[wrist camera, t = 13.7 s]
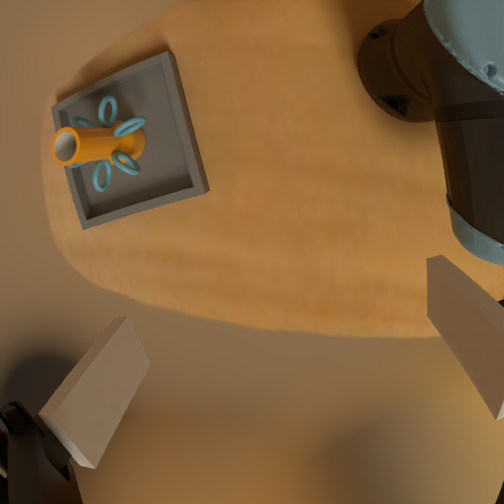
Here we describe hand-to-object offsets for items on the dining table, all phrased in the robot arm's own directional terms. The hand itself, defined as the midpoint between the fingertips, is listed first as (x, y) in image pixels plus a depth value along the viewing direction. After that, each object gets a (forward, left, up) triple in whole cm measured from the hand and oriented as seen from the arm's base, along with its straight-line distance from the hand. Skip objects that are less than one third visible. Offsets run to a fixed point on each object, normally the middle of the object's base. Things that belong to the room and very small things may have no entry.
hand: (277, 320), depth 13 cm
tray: (+19, -13, -32) cm, 39 cm away
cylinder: (+19, -13, -31) cm, 39 cm away
